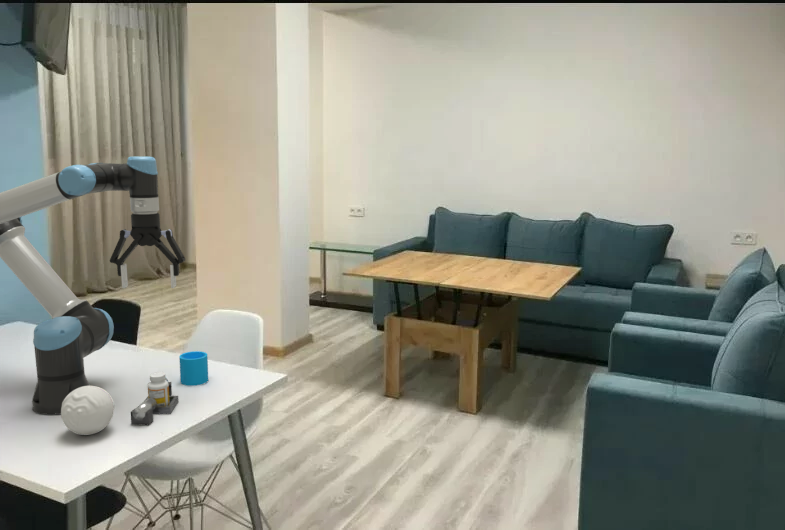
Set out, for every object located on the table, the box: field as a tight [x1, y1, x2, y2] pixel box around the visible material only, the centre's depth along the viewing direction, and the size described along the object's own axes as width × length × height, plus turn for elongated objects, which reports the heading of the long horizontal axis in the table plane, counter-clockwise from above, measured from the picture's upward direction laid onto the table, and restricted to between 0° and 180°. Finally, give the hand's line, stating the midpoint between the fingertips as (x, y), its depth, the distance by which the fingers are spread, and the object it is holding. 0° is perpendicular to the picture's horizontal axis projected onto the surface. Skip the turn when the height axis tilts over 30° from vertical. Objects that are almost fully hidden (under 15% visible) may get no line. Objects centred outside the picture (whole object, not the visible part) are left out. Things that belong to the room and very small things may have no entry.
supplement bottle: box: [147, 371, 170, 406], centre depth 183 cm, size 5×5×10 cm
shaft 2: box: [165, 377, 173, 396], centre depth 191 cm, size 7×5×5 cm
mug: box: [179, 350, 209, 387], centre depth 206 cm, size 12×8×8 cm
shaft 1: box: [129, 398, 157, 426], centre depth 176 cm, size 7×5×5 cm
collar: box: [144, 395, 179, 415], centre depth 184 cm, size 8×8×2 cm
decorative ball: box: [60, 385, 115, 436], centre depth 167 cm, size 12×12×12 cm
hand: (149, 287), depth 192 cm, fingers open, 13 cm apart
